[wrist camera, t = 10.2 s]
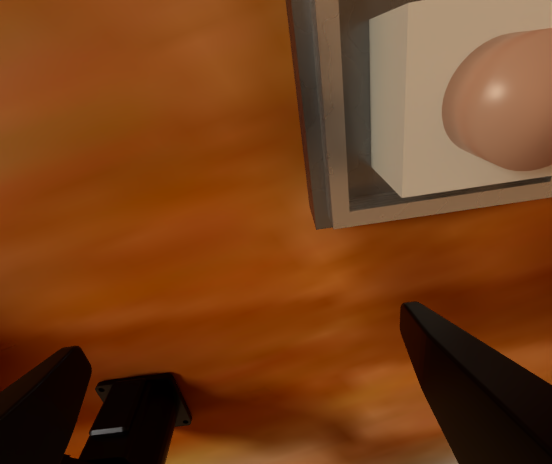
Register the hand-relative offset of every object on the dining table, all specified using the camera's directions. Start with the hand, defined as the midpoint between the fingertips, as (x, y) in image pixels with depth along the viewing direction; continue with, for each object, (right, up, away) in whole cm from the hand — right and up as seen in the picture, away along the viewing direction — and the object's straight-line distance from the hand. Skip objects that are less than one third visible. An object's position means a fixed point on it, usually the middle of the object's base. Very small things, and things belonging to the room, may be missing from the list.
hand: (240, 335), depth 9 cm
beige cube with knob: (+8, +9, +5) cm, 13 cm away
